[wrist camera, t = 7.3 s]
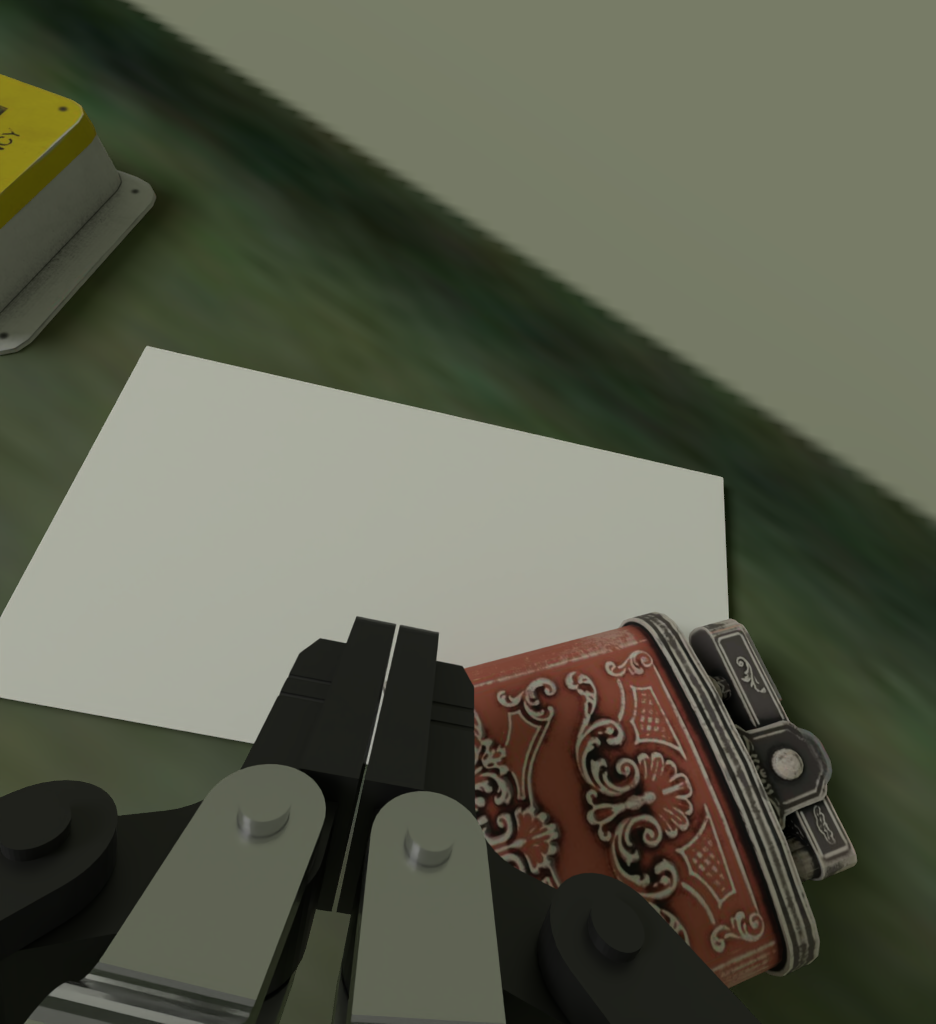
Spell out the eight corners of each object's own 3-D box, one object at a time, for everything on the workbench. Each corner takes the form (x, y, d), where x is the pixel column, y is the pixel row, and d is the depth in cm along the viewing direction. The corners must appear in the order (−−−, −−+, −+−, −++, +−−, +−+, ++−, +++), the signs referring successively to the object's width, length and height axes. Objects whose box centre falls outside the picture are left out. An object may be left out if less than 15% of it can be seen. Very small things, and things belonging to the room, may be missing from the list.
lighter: (461, 1077, 12) (836, 909, 14) (488, 1163, 9) (954, 933, 11) (382, 695, 15) (694, 613, 18) (382, 667, 12) (757, 572, 15)
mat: (727, 829, 15) (737, 831, 15) (-26, 692, 14) (-39, 690, 14) (715, 483, 20) (723, 477, 20) (152, 356, 19) (146, 346, 18)
